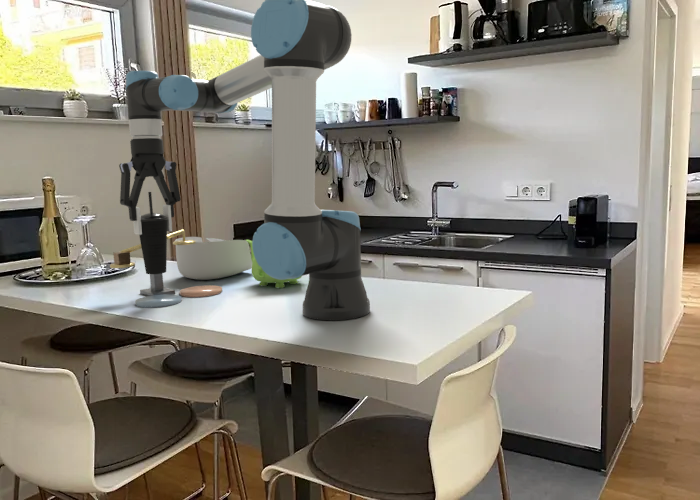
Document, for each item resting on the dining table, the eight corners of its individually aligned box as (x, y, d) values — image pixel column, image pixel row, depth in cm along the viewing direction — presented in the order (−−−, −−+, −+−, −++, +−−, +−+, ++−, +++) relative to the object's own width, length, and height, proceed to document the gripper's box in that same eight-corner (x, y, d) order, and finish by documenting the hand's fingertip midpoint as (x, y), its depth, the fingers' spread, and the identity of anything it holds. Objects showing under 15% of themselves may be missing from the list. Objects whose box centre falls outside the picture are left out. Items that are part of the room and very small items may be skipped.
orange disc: (230, 291, 166) (230, 288, 166) (193, 299, 159) (192, 296, 158) (208, 286, 174) (208, 283, 174) (172, 293, 167) (172, 290, 166)
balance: (204, 288, 171) (200, 229, 169) (120, 304, 156) (114, 238, 153) (190, 284, 177) (186, 227, 175) (107, 299, 161) (102, 236, 159)
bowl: (164, 279, 188) (161, 240, 186) (211, 269, 203) (209, 232, 201) (210, 285, 176) (208, 243, 175) (257, 273, 192) (255, 235, 190)
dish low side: (189, 301, 156) (189, 298, 156) (148, 309, 148) (147, 306, 148) (169, 295, 164) (168, 292, 164) (128, 302, 156) (128, 299, 156)
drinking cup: (163, 275, 151) (156, 192, 148) (134, 275, 152) (127, 193, 149) (177, 269, 158) (171, 190, 155) (150, 269, 160) (143, 191, 156)
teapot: (245, 291, 167) (242, 244, 165) (248, 280, 181) (246, 237, 179) (305, 288, 168) (303, 241, 166) (304, 278, 182) (302, 235, 180)
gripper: (177, 138, 160) (183, 227, 163) (98, 138, 146) (106, 235, 150) (191, 137, 154) (197, 229, 158) (111, 137, 141) (119, 238, 144)
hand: (153, 232), depth 154 cm, fingers closed on drinking cup, 7 cm apart
